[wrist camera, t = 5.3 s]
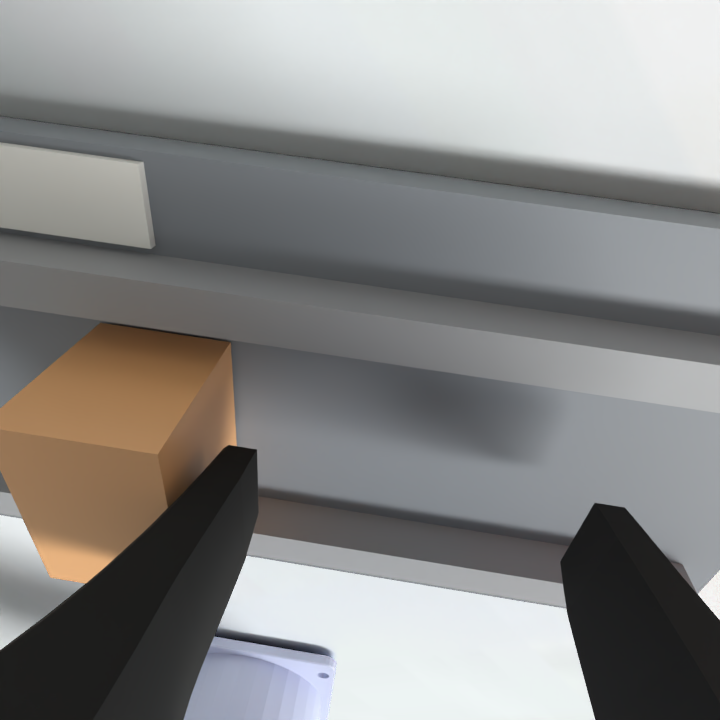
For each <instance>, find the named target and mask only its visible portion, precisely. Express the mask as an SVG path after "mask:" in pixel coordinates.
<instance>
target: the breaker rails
mask: <svg viewBox="0 0 720 720" xmlns="http://www.w3.org/2000/svg"><path fill="white" fill-rule="evenodd" d="M99 323H106V324H112V325H119V326H126V327H132V328H139V329H146V330H152V331H159V332H166V333H172V334H179V335H186V336H192V337H199V338H206V339H212V340H219V341H226V342H231V356H232V373H233V390H234V407H235V424H236V441H237V446H238V447H245V448H251V449H257V467H258V507H259V513H258V517H257V520H256V524H255V527H254V531H253V535H252V538H251V542H250V545H249V548H248V552H247V555H246V556H252V557H258V558H264V559H270V560H276V561H282V562H288V563H295V564H301V565H307V566H313V567H319V568H325V569H331V570H337V571H343V572H349V573H355V574H361V575H367V576H373V577H379V578H385V579H391V580H397V581H403V582H409V583H415V584H422V585H428V586H434V587H440V588H446V589H452V590H458V591H464V592H470V593H476V594H482V595H488V596H494V597H500V598H506V599H512V600H518V601H524V602H530V603H536V604H542V605H549V606H555V607H561V608H566V602H565V595H564V589H563V581H562V573H561V565H560V561H561V559H562V558H563V556H564V554H565V552H566V551H567V549H568V547H569V546H570V544H571V542H572V540H573V539H574V537H575V535H576V534H577V532H578V530H579V529H580V527H581V525H582V523H583V522H584V520H585V518H586V517H587V515H588V513H589V511H590V510H591V508H592V506H593V505H594V503H600V504H606V505H612V506H619V507H625V508H626V509H627V511H628V512H629V513H630V514H631V515H632V516H633V517H634V519H635V520H636V521H637V522H638V523H639V525H640V526H641V527H642V528H643V529H644V531H645V532H646V533H647V534H648V535H649V537H650V538H651V539H652V540H653V541H654V543H655V544H656V545H657V546H658V548H659V549H660V550H661V551H662V552H663V554H664V555H665V556H666V557H667V558H668V560H669V561H670V562H671V563H672V565H673V566H674V567H675V568H676V569H677V571H678V572H679V573H680V574H681V575H682V577H683V578H684V579H685V580H686V581H687V583H688V584H689V585H690V586H691V587H692V589H693V590H694V591H695V592H696V593H697V594H698V593H699V592H700V591H701V590H702V588H703V587H704V586H705V585H706V584H707V583H708V582H709V581H710V580H711V579H712V578H713V577H714V575H715V574H716V573H717V572H718V571H719V570H720V214H718V213H711V212H704V211H696V210H689V209H681V208H674V207H667V206H659V205H652V204H645V203H637V202H630V201H622V200H615V199H608V198H600V197H593V196H585V195H578V194H571V193H563V192H556V191H548V190H541V189H534V188H526V187H519V186H512V185H504V184H497V183H489V182H482V181H475V180H467V179H460V178H452V177H445V176H438V175H430V174H423V173H415V172H408V171H401V170H393V169H386V168H379V167H371V166H364V165H356V164H349V163H342V162H334V161H327V160H319V159H312V158H305V157H297V156H290V155H282V154H275V153H268V152H260V151H253V150H246V149H238V148H231V147H223V146H216V145H209V144H201V143H194V142H186V141H179V140H172V139H164V138H157V137H149V136H142V135H135V134H127V133H120V132H112V131H105V130H98V129H90V128H83V127H76V126H68V125H61V124H53V123H46V122H39V121H31V120H24V119H16V118H9V117H2V116H0V408H1V407H2V406H4V405H5V404H6V403H7V402H8V401H9V400H11V399H12V398H13V397H14V396H15V395H16V394H18V393H19V392H20V391H21V390H22V389H23V388H25V387H26V386H27V385H28V384H29V383H30V382H32V381H33V380H34V379H35V378H36V377H37V376H39V375H40V374H41V373H42V372H43V371H44V370H46V369H47V368H48V367H49V366H50V365H51V364H53V363H54V362H55V361H56V360H57V359H58V358H60V357H61V356H62V355H63V354H64V353H66V352H67V351H68V350H69V349H70V348H71V347H73V346H74V345H75V344H76V343H77V342H78V341H80V340H81V339H82V338H83V337H84V336H85V335H87V334H88V333H89V332H90V331H91V330H92V329H94V328H95V327H96V326H97V325H98V324H99ZM0 515H4V516H10V517H16V518H22V516H21V514H20V512H19V510H18V508H17V505H16V503H15V501H14V499H13V497H12V495H11V493H10V490H9V488H8V486H7V484H6V482H5V480H4V478H3V475H2V473H1V471H0ZM22 519H23V518H22Z"/></svg>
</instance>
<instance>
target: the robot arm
mask: <svg viewBox="0 0 720 720" xmlns="http://www.w3.org/2000/svg"><path fill="white" fill-rule="evenodd" d="M258 513H259V507H258V467H257V449H251V448H245V447H238V446H232V445H228V446H226V447H225V448H223V449H222V451H221V452H220V453H219V454H218V455H217V456H216V457H215V459H214V460H213V461H212V462H211V463H210V464H209V465H208V466H207V468H206V469H205V470H204V471H203V472H202V473H201V474H200V475H199V476H198V477H197V478H196V480H195V481H194V482H193V483H192V484H191V485H190V486H189V487H188V488H187V489H186V490H185V491H184V492H183V493H182V494H181V495H180V496H179V497H178V498H177V499H176V500H175V501H174V502H173V503H172V504H171V505H170V506H169V507H168V508H167V509H166V510H165V511H164V512H163V513H162V514H161V515H160V516H159V517H158V518H157V519H156V520H155V521H154V522H153V523H152V524H151V525H150V526H149V527H148V528H147V529H146V530H145V531H144V532H143V533H142V534H141V535H140V536H139V537H138V538H137V539H135V540H134V541H133V542H132V543H131V544H130V545H129V546H128V547H127V548H126V549H124V550H123V551H122V552H121V553H120V554H119V555H118V556H117V557H116V558H115V559H113V560H112V561H111V562H110V563H109V564H108V565H107V566H106V567H105V568H103V569H102V570H101V571H100V572H99V573H98V574H96V575H95V576H94V577H93V578H92V579H91V580H89V581H88V582H87V583H86V584H85V585H83V586H82V587H81V588H80V589H79V590H77V591H76V592H75V593H74V594H73V595H71V596H70V597H69V598H68V599H66V600H65V601H64V602H63V603H61V604H60V605H59V606H58V607H56V608H55V609H54V610H53V611H51V612H50V613H49V614H48V615H46V616H45V617H44V618H42V619H41V620H40V621H38V622H37V623H36V624H34V625H33V626H32V627H30V628H29V629H28V630H26V631H25V632H24V633H22V634H21V635H20V636H18V637H17V638H16V639H15V640H13V641H12V642H11V643H9V644H8V645H7V646H5V647H4V648H3V649H1V650H0V720H328V714H329V708H330V701H331V695H332V689H333V683H334V677H335V671H336V661H335V660H334V659H333V658H332V657H329V656H325V655H319V654H314V653H308V652H302V651H296V650H290V649H284V648H279V647H273V646H267V645H261V644H255V643H249V642H244V641H238V640H232V639H226V638H220V637H215V633H216V631H217V628H218V626H219V623H220V621H221V618H222V616H223V613H224V611H225V609H226V606H227V604H228V601H229V599H230V596H231V594H232V591H233V589H234V586H235V584H236V581H237V579H238V576H239V574H240V571H241V569H242V566H243V564H244V561H245V558H246V555H247V552H248V548H249V545H250V542H251V538H252V535H253V531H254V527H255V524H256V520H257V517H258ZM560 565H561V573H562V581H563V589H564V595H565V602H566V608H567V614H568V618H569V622H570V626H571V630H572V634H573V637H574V641H575V645H576V649H577V653H578V657H579V660H580V664H581V668H582V671H583V675H584V679H585V683H586V686H587V690H588V694H589V697H590V701H591V705H592V709H593V712H594V716H595V720H720V620H719V619H718V618H717V617H716V616H715V614H714V613H713V612H712V611H711V610H710V609H709V607H708V606H707V605H706V604H705V603H704V602H703V600H702V599H701V598H700V597H699V596H698V594H697V593H696V592H695V591H694V590H693V589H692V587H691V586H690V585H689V584H688V583H687V581H686V580H685V579H684V578H683V577H682V575H681V574H680V573H679V572H678V571H677V569H676V568H675V567H674V566H673V565H672V563H671V562H670V561H669V560H668V558H667V557H666V556H665V555H664V554H663V552H662V551H661V550H660V549H659V548H658V546H657V545H656V544H655V543H654V541H653V540H652V539H651V538H650V537H649V535H648V534H647V533H646V532H645V531H644V529H643V528H642V527H641V526H640V525H639V523H638V522H637V521H636V520H635V519H634V517H633V516H632V515H631V514H630V513H629V512H628V511H627V509H626V508H625V507H619V506H612V505H606V504H600V503H594V505H593V506H592V508H591V510H590V511H589V513H588V515H587V517H586V518H585V520H584V522H583V523H582V525H581V527H580V529H579V530H578V532H577V534H576V535H575V537H574V539H573V540H572V542H571V544H570V546H569V547H568V549H567V551H566V552H565V554H564V556H563V558H562V559H561V561H560Z"/></svg>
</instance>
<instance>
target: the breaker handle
mask: <svg viewBox="0 0 720 720" xmlns="http://www.w3.org/2000/svg"><path fill="white" fill-rule="evenodd" d="M228 445H232V446H237V441H236V424H235V407H234V390H233V373H232V356H231V342H226V341H219V340H212V339H206V338H199V337H192V336H186V335H179V334H172V333H166V332H159V331H152V330H146V329H139V328H132V327H126V326H119V325H112V324H106V323H99V324H98V325H97V326H96V327H95V328H94V329H92V330H91V331H90V332H89V333H88V334H87V335H85V336H84V337H83V338H82V339H81V340H80V341H78V342H77V343H76V344H75V345H74V346H73V347H71V348H70V349H69V350H68V351H67V352H66V353H64V354H63V355H62V356H61V357H60V358H58V359H57V360H56V361H55V362H54V363H53V364H51V365H50V366H49V367H48V368H47V369H46V370H44V371H43V372H42V373H41V374H40V375H39V376H37V377H36V378H35V379H34V380H33V381H32V382H30V383H29V384H28V385H27V386H26V387H25V388H23V389H22V390H21V391H20V392H19V393H18V394H16V395H15V396H14V397H13V398H12V399H11V400H9V401H8V402H7V403H6V404H5V405H4V406H2V407H1V408H0V471H1V473H2V475H3V478H4V480H5V482H6V484H7V486H8V488H9V490H10V493H11V495H12V497H13V499H14V501H15V503H16V505H17V508H18V510H19V512H20V514H21V516H22V518H23V520H24V523H25V525H26V527H27V529H28V531H29V533H30V535H31V537H32V540H33V542H34V544H35V546H36V548H37V550H38V552H39V555H40V557H41V559H42V561H43V563H44V565H45V567H46V570H47V572H48V574H49V576H50V578H56V579H62V580H68V581H74V582H80V583H87V582H88V581H89V580H91V579H92V578H93V577H94V576H95V575H96V574H98V573H99V572H100V571H101V570H102V569H103V568H105V567H106V566H107V565H108V564H109V563H110V562H111V561H112V560H113V559H115V558H116V557H117V556H118V555H119V554H120V553H121V552H122V551H123V550H124V549H126V548H127V547H128V546H129V545H130V544H131V543H132V542H133V541H134V540H135V539H137V538H138V537H139V536H140V535H141V534H142V533H143V532H144V531H145V530H146V529H147V528H148V527H149V526H150V525H151V524H152V523H153V522H154V521H155V520H156V519H157V518H158V517H159V516H160V515H161V514H162V513H163V512H164V511H165V510H166V509H167V508H168V507H169V506H170V505H171V504H172V503H173V502H174V501H175V500H176V499H177V498H178V497H179V496H180V495H181V494H182V493H183V492H184V491H185V490H186V489H187V488H188V487H189V486H190V485H191V484H192V483H193V482H194V481H195V480H196V478H197V477H198V476H199V475H200V474H201V473H202V472H203V471H204V470H205V469H206V468H207V466H208V465H209V464H210V463H211V462H212V461H213V460H214V459H215V457H216V456H217V455H218V454H219V453H220V452H221V451H222V449H223V448H225V447H226V446H228Z"/></svg>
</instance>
